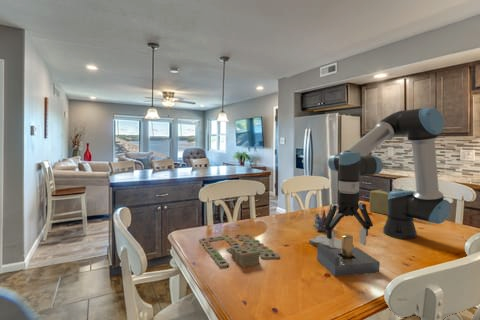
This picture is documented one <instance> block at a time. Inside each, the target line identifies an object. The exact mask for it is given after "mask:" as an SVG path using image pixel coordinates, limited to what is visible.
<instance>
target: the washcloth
mask: <svg viewBox="0 0 480 320" xmlns="http://www.w3.org/2000/svg"><path fill="white" fill-rule="evenodd" d="M317 243H322V244H323V245H324V246H325V247H327V248H328V249H342V239H341V238H340V239H339V238H336V237H334V248H331V247H330V246H329V245H328V243H329V239H328V238H327V235H325V234H318V235H317V236H315V237H312V238H310V239H308V244H310V245H312V246H314V247H317ZM353 248H355V245H354V244H353Z"/></svg>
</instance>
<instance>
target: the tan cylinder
mask: <svg viewBox="0 0 480 320" xmlns="http://www.w3.org/2000/svg"><path fill="white" fill-rule="evenodd" d="M341 240H342V249H341V257H342V258H343V259H352V250H353V248H354V247H353V245H354V242H353V241H354V236H353V235H351V234H345V233H344V234H341Z"/></svg>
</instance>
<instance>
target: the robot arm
mask: <svg viewBox="0 0 480 320" xmlns="http://www.w3.org/2000/svg"><path fill="white" fill-rule="evenodd" d="M444 127H445V119H444V116H443V114H442V113H441V111H440V110H439V109H437V108H435V107H422V108H415V109H406V110H400V111H399V110H398V111H395V112H393V113H391V114H388V116H386V117H384V118H382V119H381V120H379V121H378V122H377V123H376V124H375V125H374V128H373V129H372V130H370V131H369V132H367V133H366V134H365V135H364V136H362V137H361V138H360V139H358V140H357V141H355V142H353V144H352V145H350V146H348V147H347V148H346V149H345V150H344V151H342V152H341V151H340V153H339V154H338V153H337V154H336V153H335V154H332V155H330V157H329V158H328V160H327V165H328V168H329V169H330V170H331V171H334V172H338V181H337V182H338V184H337V185H338V187H337V190H338V193H337V203H338V204H333V203H331V204H330V205H329V211H328V213H327V214H326V219H325V221H324V223H323V225H322V227H323V228H324V229H326V230H327V231H326V236H327V238H328V239H329V243H328V245H329V246H330V247H331V248H334V238H335V230H334V228H336V226H337V225H338V223H339V222H340V221H341V220H342V219H343V218H344V217H355V219H356V220H357V221H358V223H359V224H360V225H361V226H360V229H359V244H361V245H363V246H364V247H365V246H367V237H368V235H369V230H370V229H371V228H372V227H373V226H374V224H373V222H372V220H371V219H372V218H371V217H370V215H369V213H368V210H367V204H366V203H363V202H360V193H359V192H360V176H374V175H378V174H380V173H381V172H382V170H383V166H384V164H383V161H382V159H381V157H378V156H373V155H369V156H367V155H368V154H370V153H371V152H373V151H374V150H375V149H376V148H378V146H380V145H382V144H383V142H385V141H386V140H390V139H392V138H393V137H397V136H407V141H408V142H410V143H411V146H412V156H413V157H412V158H413V166H414V177H415V178H414V179H415V189H416V190H415V191H414V190H392V191H390V192H388V193H389V195H388V215H387V218H386V221H385V223H384V225H383V228H382V229H383V234H385V235H387V236H389V237H391V238H392V237H393V238H396V239H402V240H414V239H416V238H417V237H418V235H417V234H418V231H416V225H415V223H414V219H415V220H419V221H424V222H427V223H429V224H431V223H432V224H437V225H440V224H443V223H444V222H446V220H447V219H448V217H449V215H450V212H451V203H450V201H449V200H447V199H445V198H444V193H443V192H442V191H440V190H439V189H440V188H439V179H438V178H439V177H438V167H437V153H436V142H435V141H436V140H437V139H438V138H439V134H442V132H443V131H444ZM359 202H360V203H359ZM358 210H360V212H359V211H358ZM360 213H361V215H362V216H361V215H360Z"/></svg>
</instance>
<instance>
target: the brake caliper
mask: <svg viewBox="0 0 480 320" xmlns="http://www.w3.org/2000/svg"><path fill="white" fill-rule="evenodd" d="M326 217H327V214H326V211H325V209H323V211H322V215H321V216H320V213H318V212H317V213H315V215H314V224H313V225H312V226H313V227H315V228H316V230H317V231H318V232H327V230H326V229H324V228H323V227H322V225H323V223H324V221H325V219H326Z"/></svg>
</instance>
